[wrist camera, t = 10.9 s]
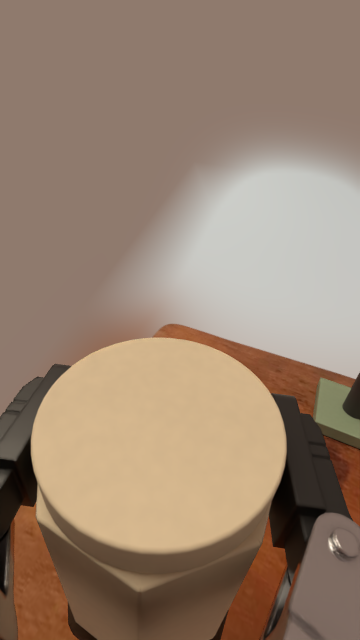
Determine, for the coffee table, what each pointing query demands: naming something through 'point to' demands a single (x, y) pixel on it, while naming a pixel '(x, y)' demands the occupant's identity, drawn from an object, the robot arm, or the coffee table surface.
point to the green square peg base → (338, 411)
